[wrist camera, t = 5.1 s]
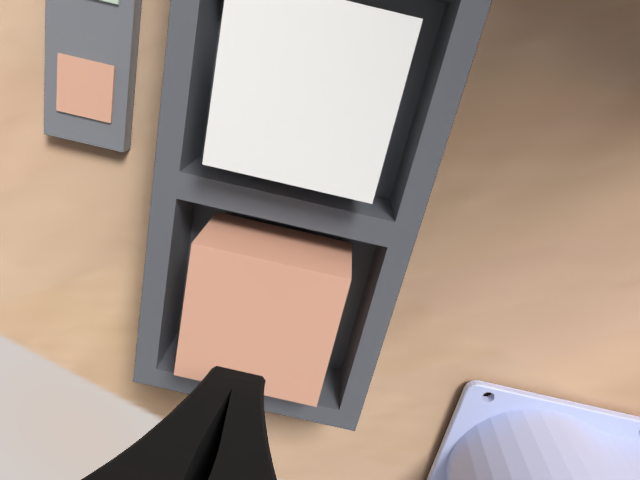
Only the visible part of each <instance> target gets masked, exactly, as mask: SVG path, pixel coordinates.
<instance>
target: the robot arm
mask: <svg viewBox="0 0 640 480" xmlns="http://www.w3.org/2000/svg"><path fill="white" fill-rule="evenodd" d="M265 382H266V380H265V379H264V378H263V376H260V375H255V374H251V373H246V372H242V371H237V370H233V369H229V368H224V367H220V366H215V367H213V368H212V369H211V370H210V371H209V373H208V374H207V375H206V376H205V378H204V379H203V380H202V381H201V382H200V383H199V384H198V386H197V387H196V388H195V389H194V390H193V391H192V392H191V393H190V394H189V395H188V396H187V397H186V398H185V399H184V400H183V401H182V402H181V403H180V404H179V405H178V406H177V407H176V408H175V409H174V410H173V411H172V412H171V413H170V414H169V415H168V416H166V417H165V418H164V419H163V420H162V421H161V422H160V423H158V424H157V425H156V426H155V427H154V428H153V429H151V430H150V431H149V432H148V433H147V434H146V435H144V436H143V437H142V438H141V439H139V440H138V441H137V442H136V443H134V444H133V445H132V446H130V447H129V448H128V449H126V450H125V451H124V452H122V453H121V454H119V455H118V456H117V457H115V458H114V459H113V460H111V461H109V462H108V463H106V464H105V465H103V466H102V467H100V468H99V469H97V470H96V471H94V472H93V473H91V474H89V475H88V476H86V477H85V478H83V479H81V480H277V479H276V475H275V471H274V467H273V463H272V458H271V454H270V449H269V443H268V437H267V430H266V423H265V413H264V387H265ZM487 392H491V395H489V396H483V394H484V393H487ZM639 430H640V417H639V416H634V415H630V414H625V413H621V412H616V411H612V410H608V409H603V408H599V407H594V406H590V405H586V404H581V403H577V402H572V401H568V400H563V399H559V398H555V397H550V396H546V395H541V394H537V393H533V392H528V391H524V390H519V389H515V388H511V387H506V386H502V385H497V384H493V383H488V382H484V381H480V380H473V381H470V382H468V383H467V384H466V385H465V387H464V389H463V391H462V394H461V396H460V399H459V401H458V404H457V406H456V408H455V411H454V413H453V416H452V418H451V421H450V423H449V426H448V428H447V431H446V433H445V436H444V438H443V440H442V443H441V445H440V448H439V450H438V453H437V455H436V458H435V460H434V463H433V465H432V467H431V470H430V472H429V475H428V477H427V480H640V431H639Z"/></svg>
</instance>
